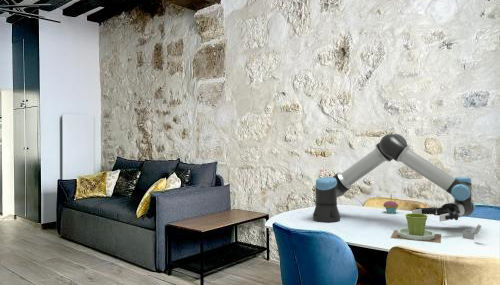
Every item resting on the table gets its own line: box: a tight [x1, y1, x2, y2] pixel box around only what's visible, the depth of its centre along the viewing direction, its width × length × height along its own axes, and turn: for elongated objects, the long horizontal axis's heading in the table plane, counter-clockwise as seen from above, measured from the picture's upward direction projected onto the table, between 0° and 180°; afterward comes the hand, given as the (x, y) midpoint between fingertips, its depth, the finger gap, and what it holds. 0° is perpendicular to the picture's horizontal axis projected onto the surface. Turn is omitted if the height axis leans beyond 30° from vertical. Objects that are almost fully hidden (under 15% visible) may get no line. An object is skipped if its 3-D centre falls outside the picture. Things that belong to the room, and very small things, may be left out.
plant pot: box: [404, 212, 429, 236], centre depth 172 cm, size 9×9×9 cm
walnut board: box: [390, 229, 442, 244], centre depth 172 cm, size 20×16×2 cm
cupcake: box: [383, 194, 399, 214], centre depth 234 cm, size 9×8×12 cm
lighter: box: [462, 224, 483, 240], centre depth 167 cm, size 7×2×8 cm, turn 50°
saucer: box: [397, 228, 436, 242], centre depth 172 cm, size 15×15×2 cm
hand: (426, 215), depth 176 cm, fingers open, 13 cm apart
